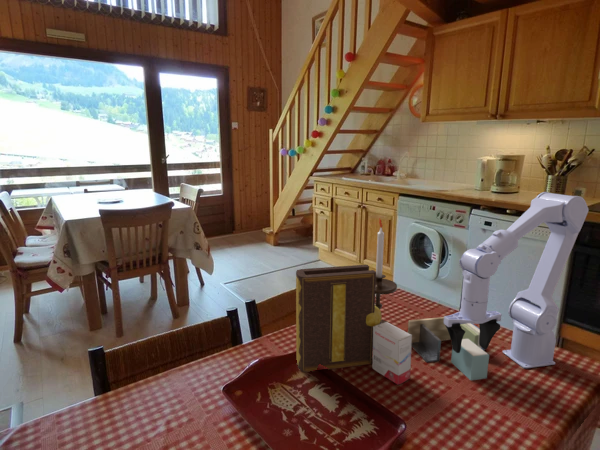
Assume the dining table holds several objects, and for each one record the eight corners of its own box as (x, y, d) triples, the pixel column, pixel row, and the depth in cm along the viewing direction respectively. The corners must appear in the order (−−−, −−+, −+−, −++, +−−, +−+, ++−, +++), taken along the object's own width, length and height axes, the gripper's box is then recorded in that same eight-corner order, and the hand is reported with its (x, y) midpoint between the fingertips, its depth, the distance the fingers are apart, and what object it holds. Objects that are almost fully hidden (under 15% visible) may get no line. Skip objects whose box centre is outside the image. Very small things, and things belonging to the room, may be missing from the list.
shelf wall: (463, 336, 110) (465, 314, 108) (464, 338, 109) (466, 316, 108) (406, 342, 106) (408, 320, 105) (408, 344, 106) (409, 321, 104)
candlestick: (367, 338, 109) (372, 222, 102) (353, 321, 119) (357, 215, 112) (401, 334, 111) (407, 220, 104) (384, 318, 122) (390, 213, 114)
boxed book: (465, 360, 98) (468, 337, 97) (486, 378, 90) (489, 354, 89) (450, 362, 97) (453, 339, 96) (470, 380, 89) (473, 356, 88)
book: (300, 375, 91) (300, 279, 86) (294, 356, 99) (293, 268, 94) (384, 364, 96) (388, 273, 91) (371, 347, 104) (375, 262, 99)
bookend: (421, 343, 106) (422, 323, 105) (439, 361, 97) (441, 340, 96) (409, 344, 106) (411, 325, 104) (426, 362, 97) (428, 341, 95)
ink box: (411, 379, 90) (414, 334, 87) (396, 386, 87) (399, 340, 85) (384, 362, 97) (386, 320, 95) (370, 368, 94) (372, 325, 92)
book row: (462, 338, 109) (464, 316, 107) (483, 355, 100) (486, 331, 98) (452, 339, 108) (454, 317, 107) (473, 356, 99) (475, 332, 98)
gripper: (489, 289, 95) (484, 338, 98) (438, 294, 92) (434, 344, 95) (510, 300, 88) (503, 352, 91) (455, 306, 86) (450, 359, 88)
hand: (469, 349), depth 93 cm, fingers open, 7 cm apart
